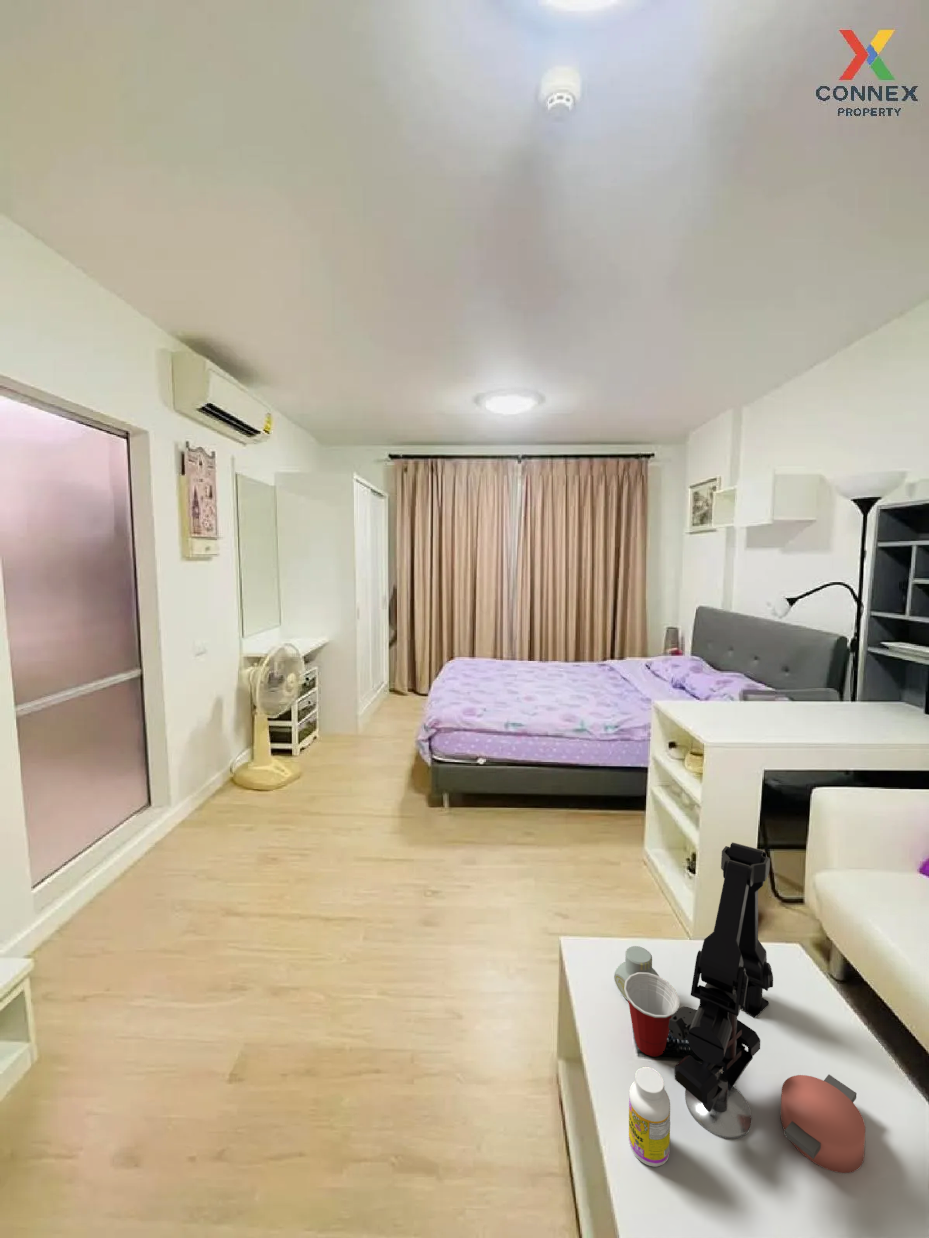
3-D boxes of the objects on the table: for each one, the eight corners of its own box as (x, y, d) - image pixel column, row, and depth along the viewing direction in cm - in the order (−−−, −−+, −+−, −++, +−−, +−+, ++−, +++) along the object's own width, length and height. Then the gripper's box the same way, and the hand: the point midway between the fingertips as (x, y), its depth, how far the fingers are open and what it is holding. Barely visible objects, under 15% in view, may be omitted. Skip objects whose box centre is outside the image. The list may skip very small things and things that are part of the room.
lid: (706, 1069, 105) (706, 1041, 104) (763, 1115, 96) (764, 1084, 95) (672, 1101, 99) (673, 1071, 98) (730, 1154, 90) (731, 1121, 89)
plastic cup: (656, 1079, 103) (657, 1022, 102) (612, 1039, 112) (612, 986, 111) (690, 1050, 109) (691, 996, 108) (646, 1014, 118) (646, 964, 117)
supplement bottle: (622, 1129, 94) (622, 1062, 93) (658, 1125, 94) (659, 1058, 93) (638, 1171, 87) (638, 1100, 86) (677, 1166, 88) (677, 1095, 87)
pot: (805, 1079, 102) (806, 1055, 101) (881, 1133, 92) (882, 1107, 92) (760, 1134, 92) (761, 1108, 92) (839, 1200, 83) (841, 1171, 82)
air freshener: (669, 1005, 120) (670, 964, 119) (640, 1018, 117) (640, 975, 116) (636, 972, 130) (636, 934, 129) (609, 983, 127) (609, 944, 126)
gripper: (706, 969, 108) (705, 1040, 109) (648, 1015, 97) (648, 1092, 99) (762, 1006, 98) (760, 1083, 100) (706, 1060, 88) (704, 1145, 89)
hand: (717, 1098), depth 97 cm, fingers open, 6 cm apart
